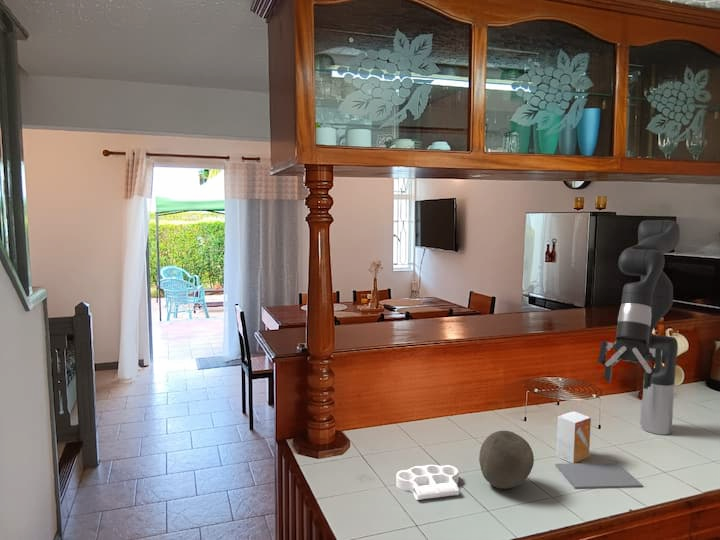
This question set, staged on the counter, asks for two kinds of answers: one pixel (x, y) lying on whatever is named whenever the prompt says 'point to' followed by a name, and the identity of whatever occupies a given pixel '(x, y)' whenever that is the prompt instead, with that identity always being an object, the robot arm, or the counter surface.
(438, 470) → the knuckle duster
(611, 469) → the mat
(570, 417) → the small box
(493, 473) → the cantaloupe
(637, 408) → the counter surface
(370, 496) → the counter surface
